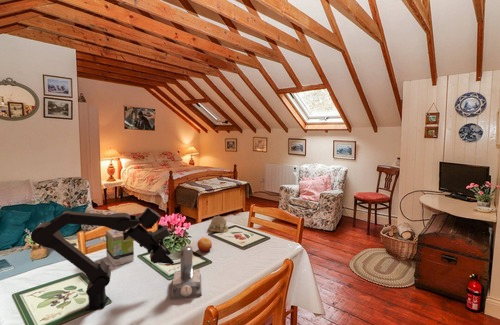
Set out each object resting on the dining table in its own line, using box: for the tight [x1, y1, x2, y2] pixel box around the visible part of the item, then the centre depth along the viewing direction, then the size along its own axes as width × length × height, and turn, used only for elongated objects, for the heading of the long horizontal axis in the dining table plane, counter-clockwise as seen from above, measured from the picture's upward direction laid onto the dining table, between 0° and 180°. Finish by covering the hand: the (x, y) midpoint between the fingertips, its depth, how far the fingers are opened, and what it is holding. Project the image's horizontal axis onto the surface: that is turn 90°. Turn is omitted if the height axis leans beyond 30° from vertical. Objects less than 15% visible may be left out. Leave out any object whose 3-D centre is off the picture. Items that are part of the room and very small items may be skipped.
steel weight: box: [179, 245, 193, 280], centre depth 115 cm, size 5×5×12 cm
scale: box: [170, 273, 202, 300], centre depth 114 cm, size 15×12×5 cm
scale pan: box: [172, 268, 201, 290], centre depth 116 cm, size 11×11×2 cm
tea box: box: [105, 229, 135, 267], centre depth 140 cm, size 15×10×15 cm, turn 41°
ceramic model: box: [208, 215, 229, 233], centre depth 186 cm, size 14×11×10 cm
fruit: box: [197, 237, 213, 253], centre depth 152 cm, size 8×8×8 cm
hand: (171, 258), depth 112 cm, fingers open, 9 cm apart
